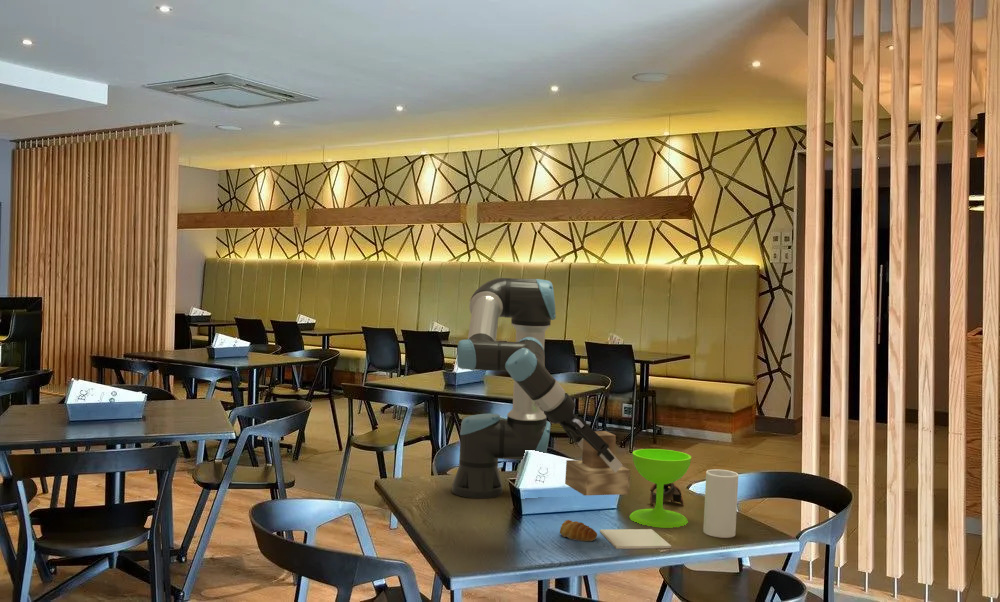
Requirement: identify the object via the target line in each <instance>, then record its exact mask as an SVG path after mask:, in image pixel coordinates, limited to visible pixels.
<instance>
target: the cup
mask: <svg viewBox="0 0 1000 602" xmlns="http://www.w3.org/2000/svg"><path fill="white" fill-rule="evenodd" d="M705 473H706V474H705V490H704V508H703V509H704V510H703V511H704V512H703V529H702V530H703V531H702V532H703V533H704V534H705V535H707V536H710V537H713V538H714V537H715V538H722V539H724V538H726V539H729V538H734V537H735V536H736V533H737V532H736V530H737V527H736V526H737V513H738V511H737V510H738V508H737V507H738V492H739V490H738V488H739V473H737V472H735V471H732V470H727V469H717V468H715V469H707V470H706V472H705Z"/></svg>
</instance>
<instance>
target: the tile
mask: <svg viewBox="0 0 1000 602" xmlns="http://www.w3.org/2000/svg"><path fill="white" fill-rule="evenodd" d="M599 533H600V534H601V535H602V536H603V537H604V538H605V539H607V541H609V543H610V544H611V545H612V546H613V547H614V548H615V549H616V550H624V549H627V550H628V549H629V550H631V549H633V550H634V549H639V550H640V549H672V545H671V544H670V543H669V542H668V541H666V540H665V539H664V538H662V536H661V535H659V534H658V533H657V532H656V531H655V530H653V529H652V528H647V529H646V528H643V529H642V528H640V529H639V528H638V529H637V528H635V529H629V528H628V529H626V528H624V529H599Z"/></svg>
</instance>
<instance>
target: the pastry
mask: <svg viewBox="0 0 1000 602" xmlns="http://www.w3.org/2000/svg"><path fill="white" fill-rule="evenodd" d="M559 534H560V535H561V536H562V537H563V538H566V537H567V538H568V539H570V540H575V541H579V540H580V541H581V542H592V541H594V540H596V539H597V537H598V533H597V532H596V530H595V529H593V528H592V527H590V526H589V525H586V524H585V523H583V522H579V521H577V520H576V521H572V520H570V519H567V520H564V522H562V524H561V526H560V528H559Z"/></svg>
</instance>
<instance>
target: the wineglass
mask: <svg viewBox="0 0 1000 602" xmlns="http://www.w3.org/2000/svg"><path fill="white" fill-rule="evenodd" d="M691 460H692V455H690V454H688V453H686V452H682V451H678V450H672V449H663V448H662V449H661V448H641V449H635V450H633V451H632V462H633V465H634V467H635V469H636V470H637V472H638V473H639V475H640V476H641V477H642V478H644V479H645V480H646V481H648V482H650V483H652V484H657V488H656V489H655V491H656V492H655V493H656V503H655V505H654V508H642V509H636V510H634V511H633V512H631V513H630V514H629V517H628V518H629V519H630V521H632V522H633V521H634V523H635V522H637V523H636V524H638V523H639V524H638V525H641V524H642V526H645V525H647V526H646V527H650V526H652V527H653V528H659V529H660V528H662V529H674V528H673V527H677V528H681V527H680V526H683V527H685V526H687V525H688V524H687V523H689V521H688V518H687V517H686V516H684V515H683V514H682V513H680V512H677V511H673V510H668V509H664V505H663V504H664V502H663V489H664V484H669V483H673V484H674V483H675V482H677V481H679V480H680V479H681V478H682V477H684V475H685V474H686V473H687V472H688V470H689V468H690V465H691ZM686 524H687V525H686ZM684 525H685V526H684ZM652 527H651V528H652Z"/></svg>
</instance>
